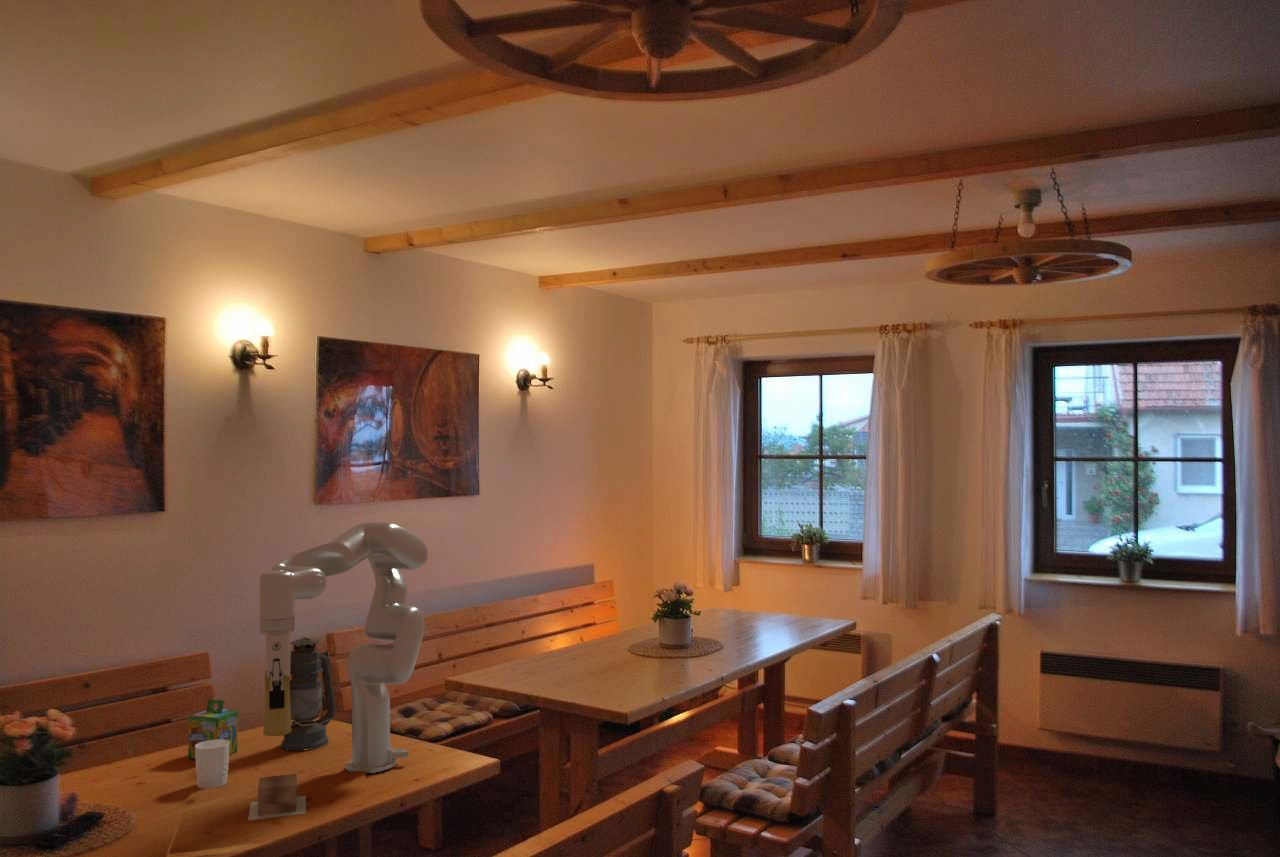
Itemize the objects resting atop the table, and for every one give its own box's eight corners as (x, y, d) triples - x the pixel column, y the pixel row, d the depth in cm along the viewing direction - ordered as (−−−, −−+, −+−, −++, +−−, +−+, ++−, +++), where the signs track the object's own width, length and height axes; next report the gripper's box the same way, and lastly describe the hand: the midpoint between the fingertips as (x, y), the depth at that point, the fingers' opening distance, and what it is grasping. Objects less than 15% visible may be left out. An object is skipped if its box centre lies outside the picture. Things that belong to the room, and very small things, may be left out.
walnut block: (296, 799, 229) (296, 773, 229) (296, 811, 221) (296, 784, 221) (259, 803, 226) (259, 777, 226) (258, 815, 219) (258, 788, 219)
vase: (267, 729, 227) (267, 667, 227) (294, 728, 227) (294, 666, 228) (259, 737, 221) (259, 673, 221) (287, 736, 221) (287, 672, 222)
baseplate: (305, 800, 231) (305, 795, 231) (305, 817, 220) (305, 813, 220) (251, 806, 228) (251, 802, 228) (247, 824, 216) (247, 820, 216)
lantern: (323, 732, 288) (322, 629, 289) (351, 741, 279) (350, 635, 280) (260, 748, 273) (260, 640, 274) (288, 758, 264) (288, 646, 265)
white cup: (216, 790, 239) (216, 749, 239) (187, 789, 240) (187, 747, 240) (236, 780, 246) (236, 740, 247) (208, 778, 248) (208, 738, 248)
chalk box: (187, 759, 264) (187, 704, 264) (209, 749, 273) (209, 695, 273) (217, 761, 262) (217, 705, 262) (238, 751, 271) (238, 697, 271)
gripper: (293, 630, 218) (294, 712, 217) (295, 618, 234) (295, 695, 234) (257, 632, 215) (257, 716, 215) (261, 620, 232) (261, 697, 231)
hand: (277, 704), depth 224 cm, fingers closed on vase, 5 cm apart
